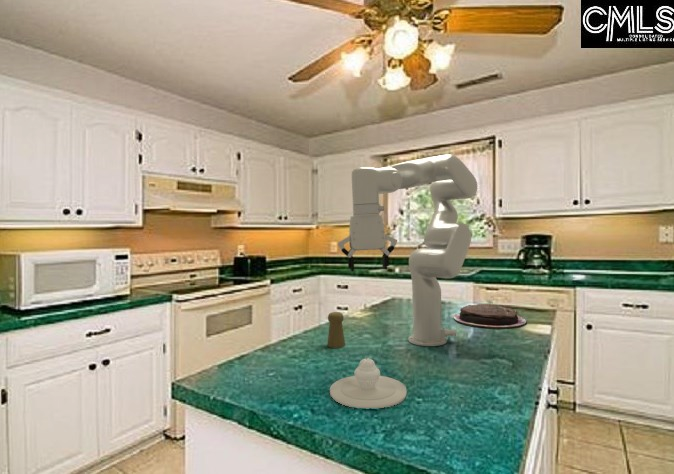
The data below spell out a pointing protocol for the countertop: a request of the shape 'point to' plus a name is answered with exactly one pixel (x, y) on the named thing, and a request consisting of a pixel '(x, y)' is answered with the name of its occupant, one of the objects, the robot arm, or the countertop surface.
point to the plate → (368, 393)
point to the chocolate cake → (489, 317)
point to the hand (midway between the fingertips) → (368, 269)
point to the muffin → (367, 374)
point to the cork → (335, 330)
